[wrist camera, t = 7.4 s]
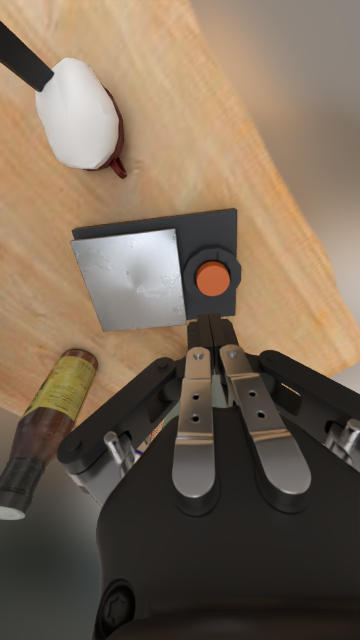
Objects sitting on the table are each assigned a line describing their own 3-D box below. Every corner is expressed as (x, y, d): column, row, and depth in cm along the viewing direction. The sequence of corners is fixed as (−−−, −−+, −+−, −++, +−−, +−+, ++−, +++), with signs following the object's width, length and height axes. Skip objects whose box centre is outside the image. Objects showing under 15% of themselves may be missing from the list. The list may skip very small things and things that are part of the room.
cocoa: (143, 173, 23) (111, 175, 13) (87, 191, 24) (18, 206, 14) (103, 37, 18) (3, -128, 8) (35, 66, 19) (-130, -50, 9)
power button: (197, 291, 27) (198, 297, 26) (195, 262, 25) (195, 267, 24) (227, 288, 27) (229, 294, 26) (227, 259, 25) (229, 264, 24)
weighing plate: (104, 329, 30) (103, 331, 30) (71, 240, 24) (69, 241, 24) (186, 322, 29) (186, 324, 29) (175, 227, 23) (175, 229, 23)
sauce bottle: (58, 345, 36) (-51, 495, 19) (98, 349, 36) (25, 501, 20) (64, 374, 39) (-23, 522, 23) (101, 377, 40) (40, 526, 23)
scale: (108, 321, 33) (102, 333, 31) (76, 227, 26) (64, 233, 24) (235, 310, 32) (239, 322, 29) (237, 207, 25) (243, 211, 22)
